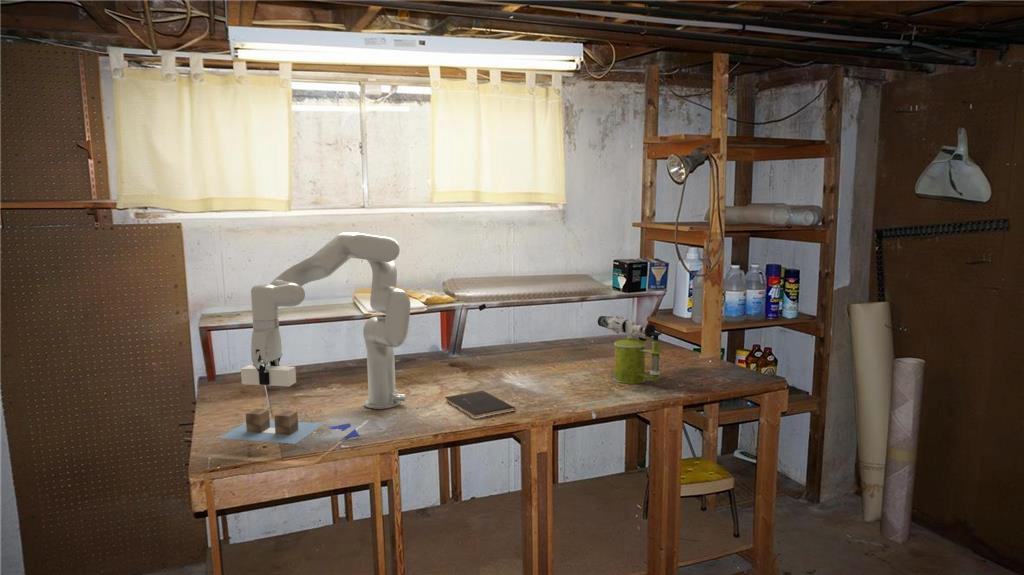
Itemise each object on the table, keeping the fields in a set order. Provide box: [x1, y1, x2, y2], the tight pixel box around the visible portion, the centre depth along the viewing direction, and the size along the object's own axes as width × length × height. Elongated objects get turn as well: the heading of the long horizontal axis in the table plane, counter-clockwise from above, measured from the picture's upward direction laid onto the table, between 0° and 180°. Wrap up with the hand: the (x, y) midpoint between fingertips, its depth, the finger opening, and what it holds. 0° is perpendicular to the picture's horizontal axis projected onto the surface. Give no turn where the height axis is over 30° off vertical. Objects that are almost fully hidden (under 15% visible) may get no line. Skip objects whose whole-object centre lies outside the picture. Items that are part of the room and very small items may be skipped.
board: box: [218, 419, 325, 445], centre depth 214 cm, size 26×18×1 cm
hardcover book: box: [445, 390, 516, 418], centre depth 240 cm, size 16×23×2 cm
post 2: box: [274, 409, 299, 435], centre depth 213 cm, size 5×5×6 cm
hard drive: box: [328, 423, 361, 442], centre depth 214 cm, size 2×8×12 cm
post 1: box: [245, 408, 271, 433], centre depth 215 cm, size 5×5×6 cm
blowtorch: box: [597, 315, 664, 385], centre depth 270 cm, size 13×33×25 cm, turn 36°
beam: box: [240, 364, 297, 387], centre depth 212 cm, size 16×4×5 cm, turn 79°
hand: (269, 381), depth 212 cm, fingers closed on beam, 4 cm apart
